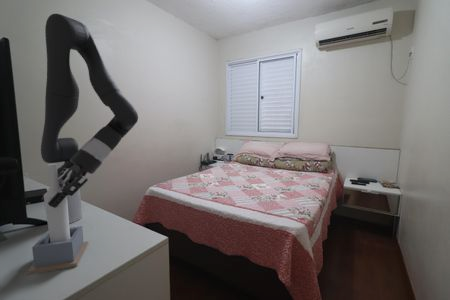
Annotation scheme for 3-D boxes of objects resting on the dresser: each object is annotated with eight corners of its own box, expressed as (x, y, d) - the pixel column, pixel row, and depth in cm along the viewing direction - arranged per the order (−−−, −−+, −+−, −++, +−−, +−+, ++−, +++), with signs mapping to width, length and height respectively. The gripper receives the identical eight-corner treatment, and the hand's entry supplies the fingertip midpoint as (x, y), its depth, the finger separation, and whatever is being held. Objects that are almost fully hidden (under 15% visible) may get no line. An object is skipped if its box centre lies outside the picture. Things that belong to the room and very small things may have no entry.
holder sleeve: (48, 249, 66) (45, 229, 65) (88, 244, 69) (86, 224, 68) (28, 274, 56) (25, 250, 55) (76, 266, 59) (74, 243, 58)
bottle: (45, 249, 61) (35, 165, 57) (64, 240, 65) (56, 161, 62) (57, 253, 59) (47, 167, 55) (76, 243, 64) (68, 163, 60)
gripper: (72, 146, 68) (27, 191, 60) (91, 150, 59) (42, 204, 52) (92, 159, 73) (52, 203, 65) (112, 165, 64) (69, 216, 57)
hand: (48, 203), depth 58 cm, fingers closed on bottle, 5 cm apart
